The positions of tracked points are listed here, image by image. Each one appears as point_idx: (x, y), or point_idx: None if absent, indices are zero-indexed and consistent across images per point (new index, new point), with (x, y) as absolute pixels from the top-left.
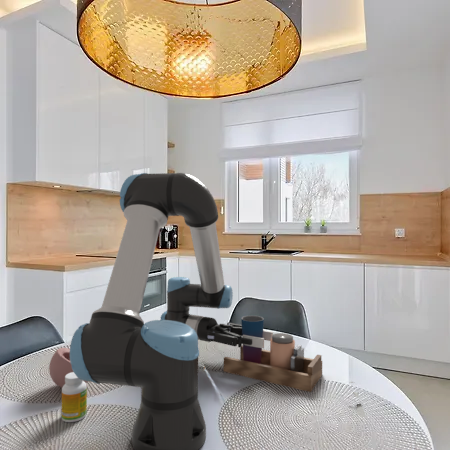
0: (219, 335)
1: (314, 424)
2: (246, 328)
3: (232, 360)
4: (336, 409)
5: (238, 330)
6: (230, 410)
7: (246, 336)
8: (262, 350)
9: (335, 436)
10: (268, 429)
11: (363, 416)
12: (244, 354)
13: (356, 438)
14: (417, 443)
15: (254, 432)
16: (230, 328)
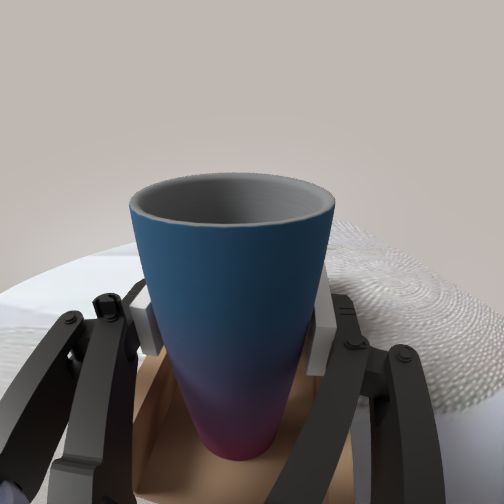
0: (440, 489)
1: (401, 277)
2: (323, 264)
3: (350, 458)
4: (337, 263)
5: (116, 422)
6: (484, 376)
7: (333, 308)
8: (153, 368)
9: (404, 261)
10: (464, 312)
11: (334, 245)
12: (278, 417)
13: (388, 250)
14: (351, 224)
15: (484, 322)
16: (104, 492)
